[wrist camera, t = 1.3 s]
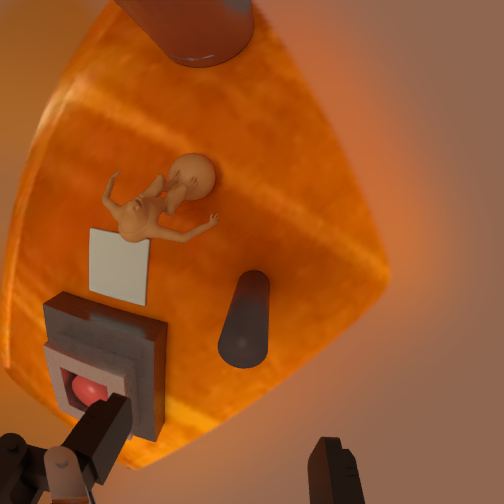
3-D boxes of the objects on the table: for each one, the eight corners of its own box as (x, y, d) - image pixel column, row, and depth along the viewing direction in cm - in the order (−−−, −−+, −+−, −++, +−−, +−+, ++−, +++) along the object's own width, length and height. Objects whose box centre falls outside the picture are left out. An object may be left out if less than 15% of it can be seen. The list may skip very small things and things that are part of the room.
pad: (92, 227, 27) (90, 228, 27) (150, 239, 27) (149, 240, 27) (91, 289, 29) (89, 290, 29) (146, 304, 29) (144, 306, 29)
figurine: (249, 175, 25) (229, 172, 14) (220, 236, 27) (182, 280, 15) (167, 140, 25) (96, 119, 13) (143, 199, 26) (64, 217, 15)
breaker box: (62, 291, 30) (26, 314, 23) (167, 322, 29) (142, 359, 23) (76, 389, 34) (53, 418, 27) (164, 421, 33) (148, 459, 27)
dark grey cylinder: (240, 267, 27) (221, 322, 17) (272, 273, 27) (272, 332, 17) (235, 297, 28) (215, 363, 18) (266, 303, 28) (262, 372, 17)
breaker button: (88, 352, 29) (68, 372, 25) (120, 363, 29) (102, 386, 25) (92, 379, 30) (75, 400, 26) (122, 391, 30) (107, 414, 26)
